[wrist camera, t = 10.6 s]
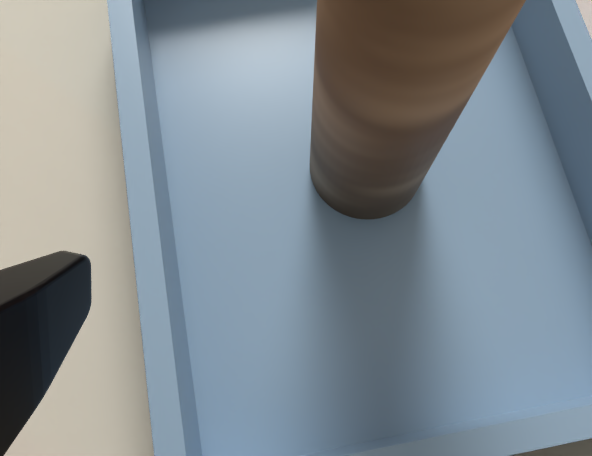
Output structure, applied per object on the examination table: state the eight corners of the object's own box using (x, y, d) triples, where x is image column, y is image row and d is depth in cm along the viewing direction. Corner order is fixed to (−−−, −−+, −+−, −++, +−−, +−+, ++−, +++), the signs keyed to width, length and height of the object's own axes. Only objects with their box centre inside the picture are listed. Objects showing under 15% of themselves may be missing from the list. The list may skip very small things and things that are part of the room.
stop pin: (455, 158, 20) (867, -466, 5) (377, 254, 19) (630, -205, 4) (354, 85, 21) (481, -617, 6) (274, 173, 20) (208, -427, 5)
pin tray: (659, 406, 18) (742, 406, 15) (186, 504, 17) (161, 528, 14) (487, -61, 24) (519, -136, 21) (126, -9, 23) (99, -80, 20)
